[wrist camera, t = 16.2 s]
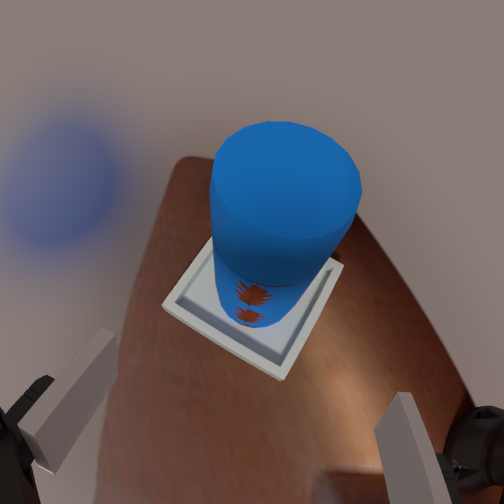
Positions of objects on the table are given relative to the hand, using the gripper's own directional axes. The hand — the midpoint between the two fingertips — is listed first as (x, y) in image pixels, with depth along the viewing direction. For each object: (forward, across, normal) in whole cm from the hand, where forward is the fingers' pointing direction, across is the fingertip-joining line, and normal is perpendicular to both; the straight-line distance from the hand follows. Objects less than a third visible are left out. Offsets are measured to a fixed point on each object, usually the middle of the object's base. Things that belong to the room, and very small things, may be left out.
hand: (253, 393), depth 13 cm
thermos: (+29, -1, -9) cm, 31 cm away
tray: (+30, -1, -9) cm, 32 cm away
